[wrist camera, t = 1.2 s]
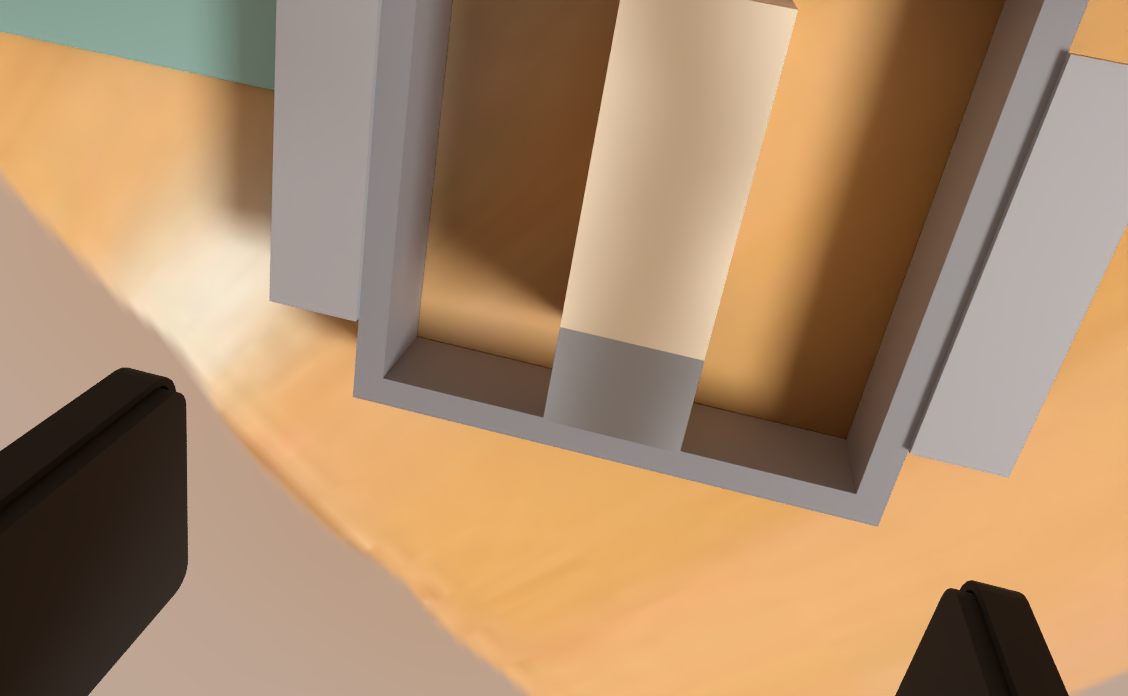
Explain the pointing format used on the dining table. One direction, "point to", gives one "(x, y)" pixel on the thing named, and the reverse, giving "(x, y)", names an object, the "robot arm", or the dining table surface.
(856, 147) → the dining table surface
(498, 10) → the dining table surface
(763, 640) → the dining table surface
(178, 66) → the mat
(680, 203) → the block
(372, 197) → the open square frame
